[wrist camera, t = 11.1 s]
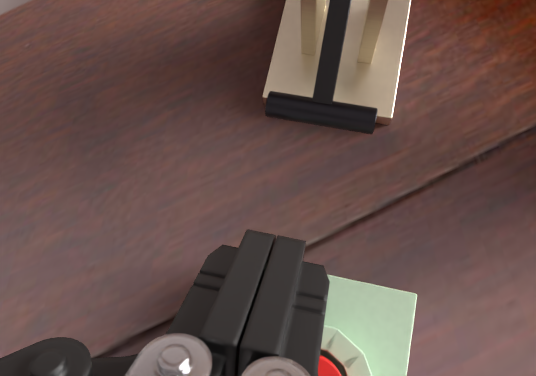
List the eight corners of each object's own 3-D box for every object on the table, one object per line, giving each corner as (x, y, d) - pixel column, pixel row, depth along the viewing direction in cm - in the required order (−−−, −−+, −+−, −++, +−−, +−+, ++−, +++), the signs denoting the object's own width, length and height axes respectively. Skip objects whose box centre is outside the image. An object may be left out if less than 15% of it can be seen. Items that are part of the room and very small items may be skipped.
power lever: (371, 133, 26) (373, 135, 23) (269, 115, 26) (262, 116, 24) (419, -100, 23) (427, -122, 21) (304, -111, 24) (300, -134, 21)
